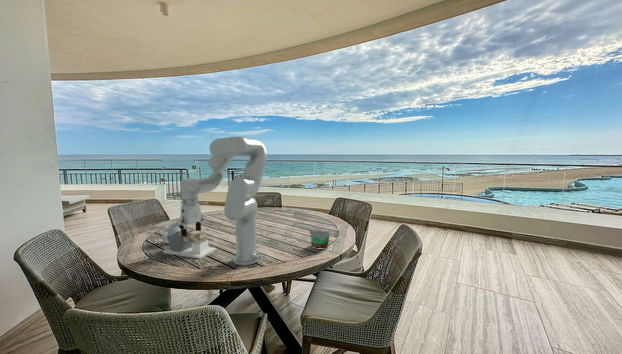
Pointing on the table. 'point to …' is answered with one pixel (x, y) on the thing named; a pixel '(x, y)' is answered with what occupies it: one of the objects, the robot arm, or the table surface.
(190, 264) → the table surface
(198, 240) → the top rail
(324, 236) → the food container
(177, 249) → the cup bracket
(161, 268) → the table surface
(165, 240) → the mug
